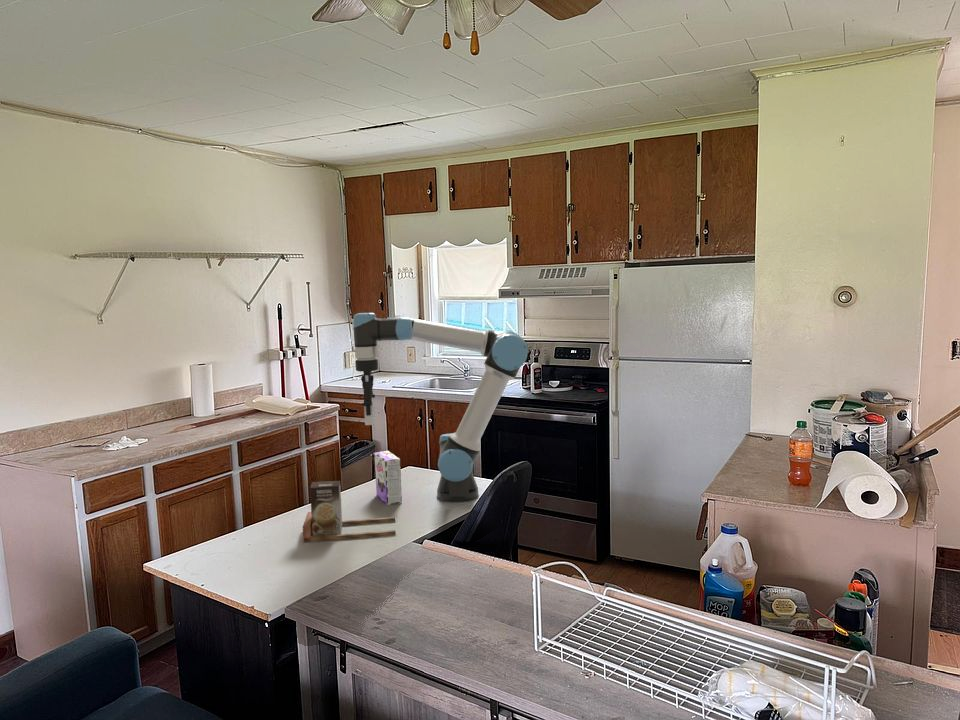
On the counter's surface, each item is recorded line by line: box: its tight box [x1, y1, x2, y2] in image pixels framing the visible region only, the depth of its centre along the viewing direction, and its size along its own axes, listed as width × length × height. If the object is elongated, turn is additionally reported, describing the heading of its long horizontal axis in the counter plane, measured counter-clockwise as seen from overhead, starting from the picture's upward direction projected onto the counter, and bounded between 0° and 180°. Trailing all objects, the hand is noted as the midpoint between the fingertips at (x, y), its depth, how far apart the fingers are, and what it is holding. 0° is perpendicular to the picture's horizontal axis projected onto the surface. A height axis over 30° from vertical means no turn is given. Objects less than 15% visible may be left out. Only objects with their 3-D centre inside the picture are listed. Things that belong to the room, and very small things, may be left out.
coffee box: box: [309, 480, 343, 537], centre depth 213 cm, size 9×6×16 cm
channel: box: [302, 511, 397, 543], centre depth 214 cm, size 28×13×5 cm, turn 98°
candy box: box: [373, 450, 403, 506], centre depth 245 cm, size 14×6×16 cm, turn 25°
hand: (369, 420), depth 230 cm, fingers open, 13 cm apart
